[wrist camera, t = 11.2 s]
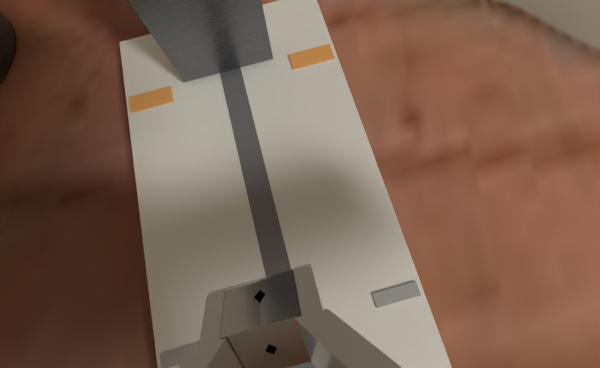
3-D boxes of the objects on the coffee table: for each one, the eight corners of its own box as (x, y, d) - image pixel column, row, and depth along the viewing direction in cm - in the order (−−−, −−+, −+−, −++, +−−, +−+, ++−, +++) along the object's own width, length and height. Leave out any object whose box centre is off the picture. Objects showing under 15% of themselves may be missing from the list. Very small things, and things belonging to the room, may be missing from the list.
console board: (188, 432, 14) (167, 460, 12) (138, 64, 20) (118, 40, 18) (435, 360, 14) (455, 374, 12) (313, 18, 20) (313, -10, 18)
